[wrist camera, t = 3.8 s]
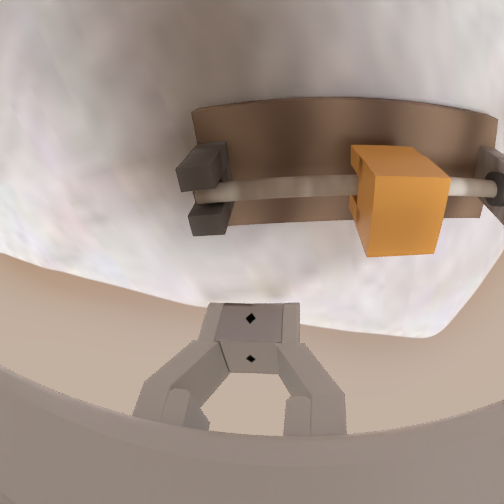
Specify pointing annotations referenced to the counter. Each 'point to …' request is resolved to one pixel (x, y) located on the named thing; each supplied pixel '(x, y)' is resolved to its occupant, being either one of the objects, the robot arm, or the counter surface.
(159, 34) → the counter surface
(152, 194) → the counter surface
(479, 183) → the cord board
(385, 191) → the notched orange cube
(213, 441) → the robot arm
